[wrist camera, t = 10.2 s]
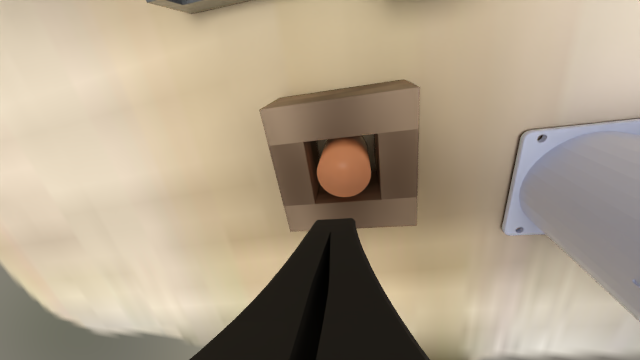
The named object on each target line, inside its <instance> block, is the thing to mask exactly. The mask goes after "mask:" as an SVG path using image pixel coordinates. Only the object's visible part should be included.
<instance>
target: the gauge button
mask: <svg viewBox="0 0 640 360" xmlns="http://www.w3.org/2000/svg"><path fill="white" fill-rule="evenodd" d="M317 177H318V181H319V183H320V185H321V186H322V187H323V188H324V189H325V190H326V191H327V192H328V193H330V194H332V195H334V196H338V197H351V196H354V195H357V194H359V193H360V192H362V191H363V190H364V189H365V188H366V187H367V185H368V183H369V181H370V178H371V168H370V161H369V155H368V148H367V144H366V142H365V140H364V139H363V138H362V137H361V136H351V137H343V138H334V139H327V141H326V143H325V145H324V148H323V152H322V155H321V158H320V161H319V164H318V167H317Z"/></svg>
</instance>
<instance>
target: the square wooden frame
mask: <svg viewBox="0 0 640 360" xmlns="http://www.w3.org/2000/svg"><path fill="white" fill-rule="evenodd" d="M419 94H420V87H419V86H416V85H414V84H412V83H410V82H408V81H406V80H398V81H391V82H384V83H377V84H371V85H364V86H357V87H350V88H344V89H337V90H330V91H323V92H317V93H310V94H303V95H296V96H290V97H283V98H279V99H277V100H275V101H274V102H272V103H270V104H268V105H267V106H265V107H263V108H261V109H260V114H261V118H262V122H263V126H264V130H265V134H266V138H267V142H268V146H269V150H270V153H271V157H272V161H273V165H274V169H275V173H276V177H277V181H278V185H279V189H280V193H281V197H282V201H283V205H284V208H285V212H286V216H287V220H288V224H289V228H290V232H292V231H309V230H310V229H311V227H312V226H313V224H314V223H315V222H316V221H317V220H325V219H343V218H353V219H354V220H355V222H356V228H375V227H395V226H416V225H417V188H418V141H419ZM369 134H374V146H375V163H376V171H372V172H371V178H370V181H369V183H368V185H367V187H366V188H365V189H364V190H363V191H362V192H360V193H359V194H357V195H354V196H351V197H338V196H334V195H332V194H330V193H328V192H327V191H326V190H325V189H324V188H323V187H322V186H321V185H320V183H319V181H318V177H317V167H318V164H319V161H320V159H319V153H318V147H317V141H316V140H325V139H334V138H343V137H351V136H360V135H369Z"/></svg>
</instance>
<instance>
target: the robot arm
mask: <svg viewBox="0 0 640 360" xmlns="http://www.w3.org/2000/svg"><path fill="white" fill-rule="evenodd" d="M542 134H543V137H542V138H541V139H540V140H538V141H537V138H538V137H539V136H540V135H542ZM519 227H520V228H519ZM517 228H519V229H517ZM516 229H517V230H516ZM502 230H503V232H504V233H505V234H506V235H534V234H546V235H547V236H548V237H549V238H550V239H551V240H552V241H553V242H554V243H555V244H557V245H558V246H559V247H560V248H561V249H562V250H563V251H564V252H565V253H566V254H567V255H568V256H569V257H570V258H572V259H573V260H574V261H575V262H576V263H577V264H578V265H579V266H580V267H581V268H582V269H583V270H584V271H586V272H587V273H588V274H589V275H590V276H591V277H592V278H593V279H594V280H595V281H596V282H597V283H598V284H599V285H601V286H602V287H603V288H604V289H605V290H606V291H607V292H608V293H609V294H610V295H611V296H612V297H613V298H615V299H616V300H617V301H618V302H619V303H620V304H621V305H622V306H623V307H624V308H625V309H626V310H627V311H628V312H630V313H631V314H632V315H633V316H634V317H635V318H636V319H637V320H638V321H639V322H640V119H631V120H621V121H612V122H602V123H593V124H583V125H574V126H564V127H555V128H545V129H536V130H529V131H527V132H525V133H524V134H523V135H522V136H521V138H520V143H519V148H518V153H517V157H516V162H515V167H514V172H513V177H512V182H511V186H510V191H509V196H508V201H507V206H506V211H505V216H504V220H503V225H502ZM190 360H430V359H429V358H428V357H427V355H426V354H425V352H424V351H423V350H422V348H421V347H420V346H419V344H418V343H417V342H416V340H415V339H414V337H413V336H412V334H411V333H410V331H409V330H408V328H407V327H406V325H405V324H404V322H403V321H402V319H401V318H400V316H399V315H398V313H397V312H396V310H395V308H394V307H393V305H392V304H391V302H390V300H389V299H388V297H387V295H386V294H385V292H384V290H383V288H382V287H381V285H380V283H379V281H378V279H377V277H376V276H375V274H374V272H373V270H372V268H371V266H370V264H369V261H368V259H367V257H366V255H365V253H364V250H363V248H362V245H361V243H360V240H359V237H358V234H357V230H356V222H355V220H354V219H353V218H343V219H325V220H317V221H316V222H315V223H314V224H313V226H312V227H311V229H310V230H309V232H308V233H307V234H306V236H305V237H304V239H303V240H302V242H301V243H300V244H299V246H298V247H297V249H296V250H295V251H294V252H293V254H292V255H291V256H290V258H289V259H288V260H287V262H286V263H285V264H284V266H283V267H282V268H281V269H280V270H279V272H278V273H277V274H276V275H275V276H274V278H273V279H272V280H271V281H270V282H269V283H268V285H267V286H266V287H265V288H264V289H263V290H262V291H261V293H260V294H259V295H258V296H257V297H256V298H255V299H254V300H253V301H252V302H251V303H250V304H249V305H248V306H247V307H246V308H245V309H244V310H243V311H242V312H241V313H240V314H239V315H238V316H237V317H236V318H235V319H234V320H233V321H232V322H231V323H230V324H229V325H228V326H227V327H226V328H225V329H224V330H223V331H221V332H220V333H219V334H218V335H217V336H216V337H215V338H214V339H213V340H211V341H210V342H209V343H208V344H207V345H206V346H205V347H204V348H203V349H201V350H200V351H199V352H198V353H197V354H196V355H194V356H193V357H192V358H191V359H190Z"/></svg>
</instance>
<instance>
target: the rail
mask: <svg viewBox="0 0 640 360" xmlns="http://www.w3.org/2000/svg"><path fill="white" fill-rule="evenodd" d="M146 1H147V3H151V4H155V5H159V6H163V7H166V8H170V9H174V10H178V11H182V12H186V13H190V14H193V13H197V12H202V11H206V10H211V9H215V8H219V7H224V6H228V5H233V4H237V3H242V2H246V1H250V0H146Z"/></svg>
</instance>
